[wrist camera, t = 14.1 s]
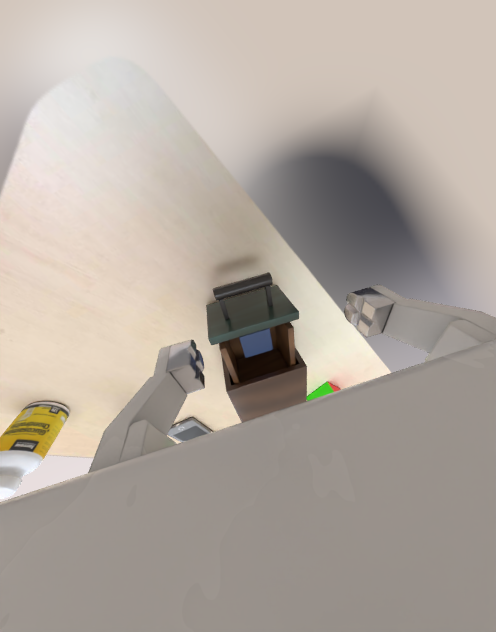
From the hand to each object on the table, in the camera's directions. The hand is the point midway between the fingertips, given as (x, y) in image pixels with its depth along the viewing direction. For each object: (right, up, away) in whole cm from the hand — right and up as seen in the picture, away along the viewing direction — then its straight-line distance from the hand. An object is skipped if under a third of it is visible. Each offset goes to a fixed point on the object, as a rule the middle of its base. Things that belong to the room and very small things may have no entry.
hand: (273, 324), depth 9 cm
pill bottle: (-39, -17, +24) cm, 49 cm away
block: (-1, -1, +21) cm, 21 cm away
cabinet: (+1, -9, +29) cm, 31 cm away
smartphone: (-16, -32, +41) cm, 54 cm away
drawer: (-1, 0, +21) cm, 21 cm away
